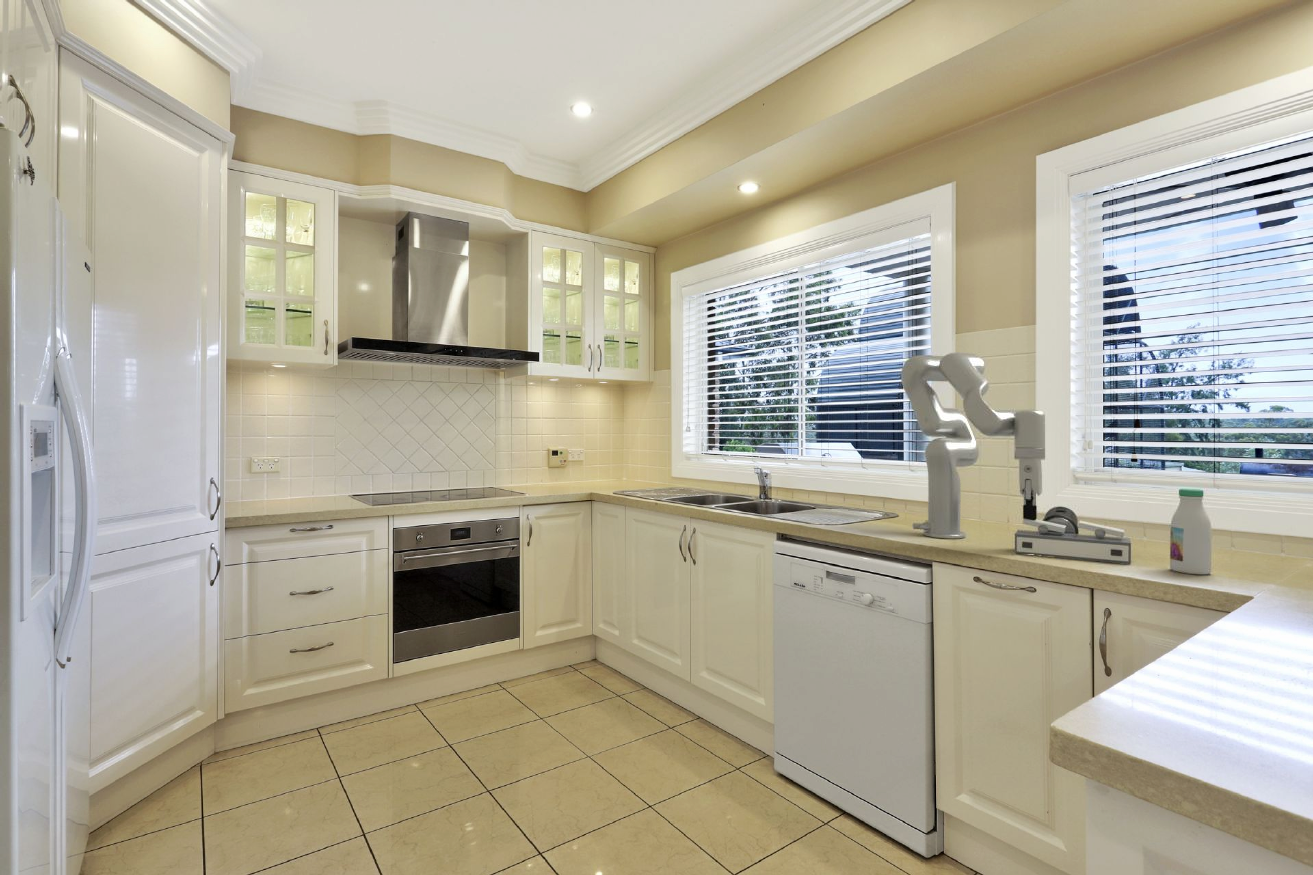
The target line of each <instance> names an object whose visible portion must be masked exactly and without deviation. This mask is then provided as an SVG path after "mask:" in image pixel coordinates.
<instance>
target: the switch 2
mask: <svg viewBox="0 0 1313 875" xmlns="http://www.w3.org/2000/svg"><path fill="white" fill-rule="evenodd" d="M1078 529H1082V530H1087V531H1092V532H1094V535H1095V536H1096V537H1098V538H1103V537H1104V536H1106V535H1110V536H1112V537H1122V538H1124V535H1125V530H1124V529H1121V528H1116V527H1112V526H1106V525H1102V524H1099V523H1098V524H1097V523H1094V522H1089V521H1084V520H1079V522H1078Z"/></svg>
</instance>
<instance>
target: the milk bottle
mask: <svg viewBox="0 0 1313 875" xmlns="http://www.w3.org/2000/svg"><path fill="white" fill-rule="evenodd" d="M1204 494H1205V493H1204V490H1203V489H1201V488H1179V489H1178V498H1179V503H1178V506H1177V508H1176V510H1175V512H1174V513H1173V515H1172V517H1171V522H1170V538H1169V539H1170V540H1169V542H1170V543H1169V546H1170V548H1169V550H1170V551H1169V567H1170V569H1171V571H1174V572H1176V573H1177V572H1178V573H1183V574H1190V575H1211V573H1212V523H1211V520H1210V516H1209V515H1208V514H1207V512H1206V509H1205V507H1204V504H1203V500H1204Z"/></svg>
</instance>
